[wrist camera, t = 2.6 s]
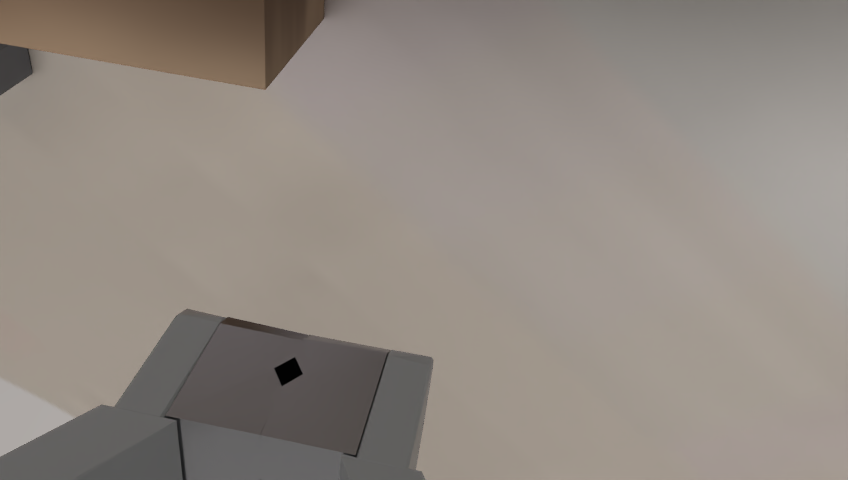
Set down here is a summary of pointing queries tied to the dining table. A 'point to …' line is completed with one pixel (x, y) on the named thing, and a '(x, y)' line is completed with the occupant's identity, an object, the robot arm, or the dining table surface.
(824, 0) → the dining table surface
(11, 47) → the bay
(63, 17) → the wooden block
